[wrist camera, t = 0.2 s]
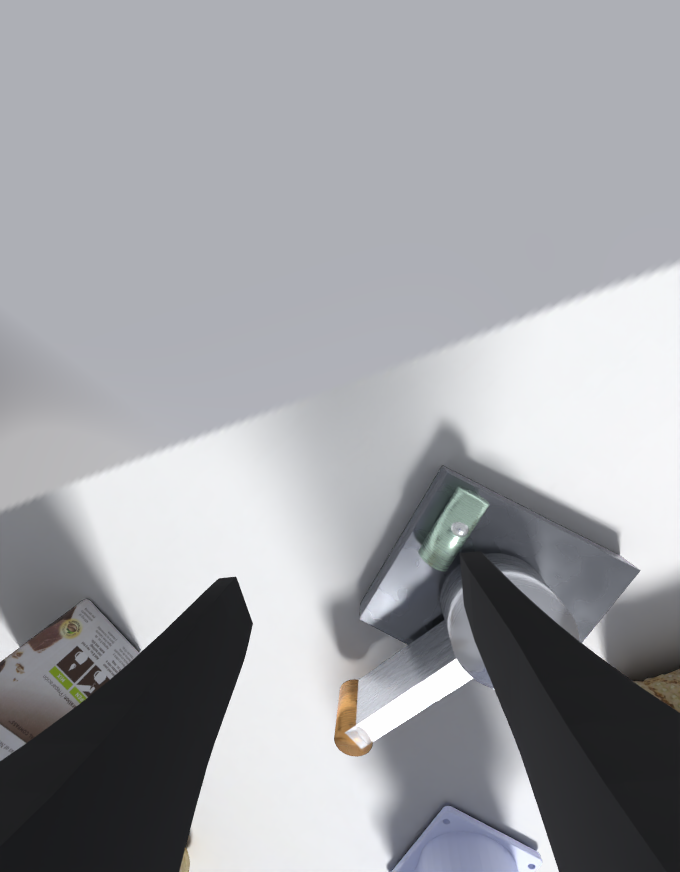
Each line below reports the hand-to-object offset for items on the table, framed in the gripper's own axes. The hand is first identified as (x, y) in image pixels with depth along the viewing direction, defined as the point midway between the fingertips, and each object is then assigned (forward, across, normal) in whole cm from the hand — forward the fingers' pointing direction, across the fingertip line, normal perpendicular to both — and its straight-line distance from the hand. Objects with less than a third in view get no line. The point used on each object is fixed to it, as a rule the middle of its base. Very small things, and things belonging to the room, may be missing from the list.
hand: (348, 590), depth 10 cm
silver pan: (+7, -3, +11) cm, 14 cm away
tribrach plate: (+9, -7, +9) cm, 14 cm away
